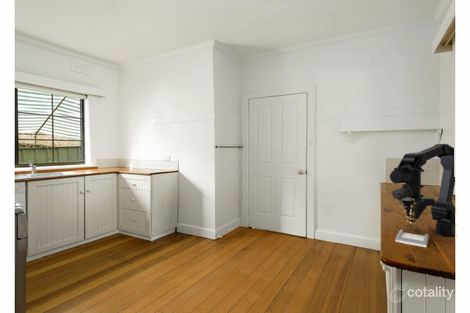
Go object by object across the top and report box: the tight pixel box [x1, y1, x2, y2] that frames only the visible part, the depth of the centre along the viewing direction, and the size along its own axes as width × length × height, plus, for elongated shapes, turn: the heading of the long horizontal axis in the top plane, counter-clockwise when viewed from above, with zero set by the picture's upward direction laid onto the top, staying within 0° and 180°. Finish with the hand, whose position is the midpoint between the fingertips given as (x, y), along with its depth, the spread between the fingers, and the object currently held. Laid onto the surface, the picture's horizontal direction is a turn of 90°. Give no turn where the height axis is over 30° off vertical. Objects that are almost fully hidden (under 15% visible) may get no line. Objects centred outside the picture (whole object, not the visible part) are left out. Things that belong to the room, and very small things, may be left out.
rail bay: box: [395, 228, 429, 248], centre depth 115 cm, size 13×11×2 cm
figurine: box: [403, 205, 417, 224], centre depth 115 cm, size 5×5×8 cm
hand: (412, 217), depth 115 cm, fingers closed on figurine, 4 cm apart
